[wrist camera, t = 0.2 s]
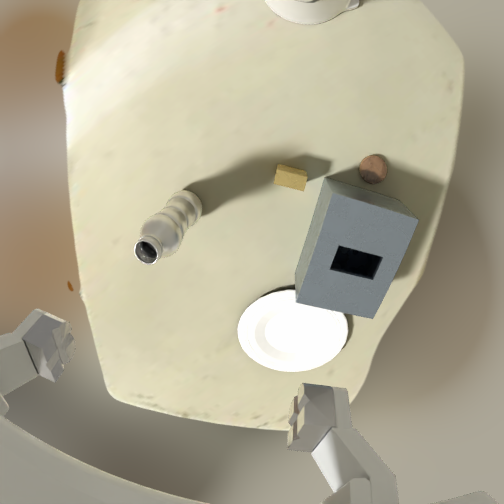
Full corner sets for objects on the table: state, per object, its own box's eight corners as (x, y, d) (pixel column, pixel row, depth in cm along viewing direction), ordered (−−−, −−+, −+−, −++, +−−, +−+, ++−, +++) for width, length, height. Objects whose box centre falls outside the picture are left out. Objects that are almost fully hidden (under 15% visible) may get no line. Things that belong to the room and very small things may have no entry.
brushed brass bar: (277, 163, 52) (277, 169, 48) (305, 170, 52) (307, 177, 48) (274, 176, 53) (273, 183, 49) (302, 183, 53) (303, 191, 49)
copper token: (363, 151, 50) (365, 152, 48) (388, 160, 50) (390, 161, 48) (355, 177, 52) (357, 179, 51) (380, 185, 52) (382, 187, 51)
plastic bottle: (192, 181, 55) (148, 220, 37) (211, 211, 57) (178, 262, 40) (165, 197, 57) (115, 242, 39) (185, 226, 59) (144, 281, 42)
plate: (361, 293, 62) (363, 298, 61) (330, 371, 74) (331, 376, 72) (244, 276, 63) (243, 281, 62) (234, 359, 75) (233, 364, 73)
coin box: (324, 177, 52) (332, 192, 43) (399, 200, 52) (418, 219, 43) (295, 273, 61) (295, 302, 53) (363, 288, 61) (372, 318, 53)
